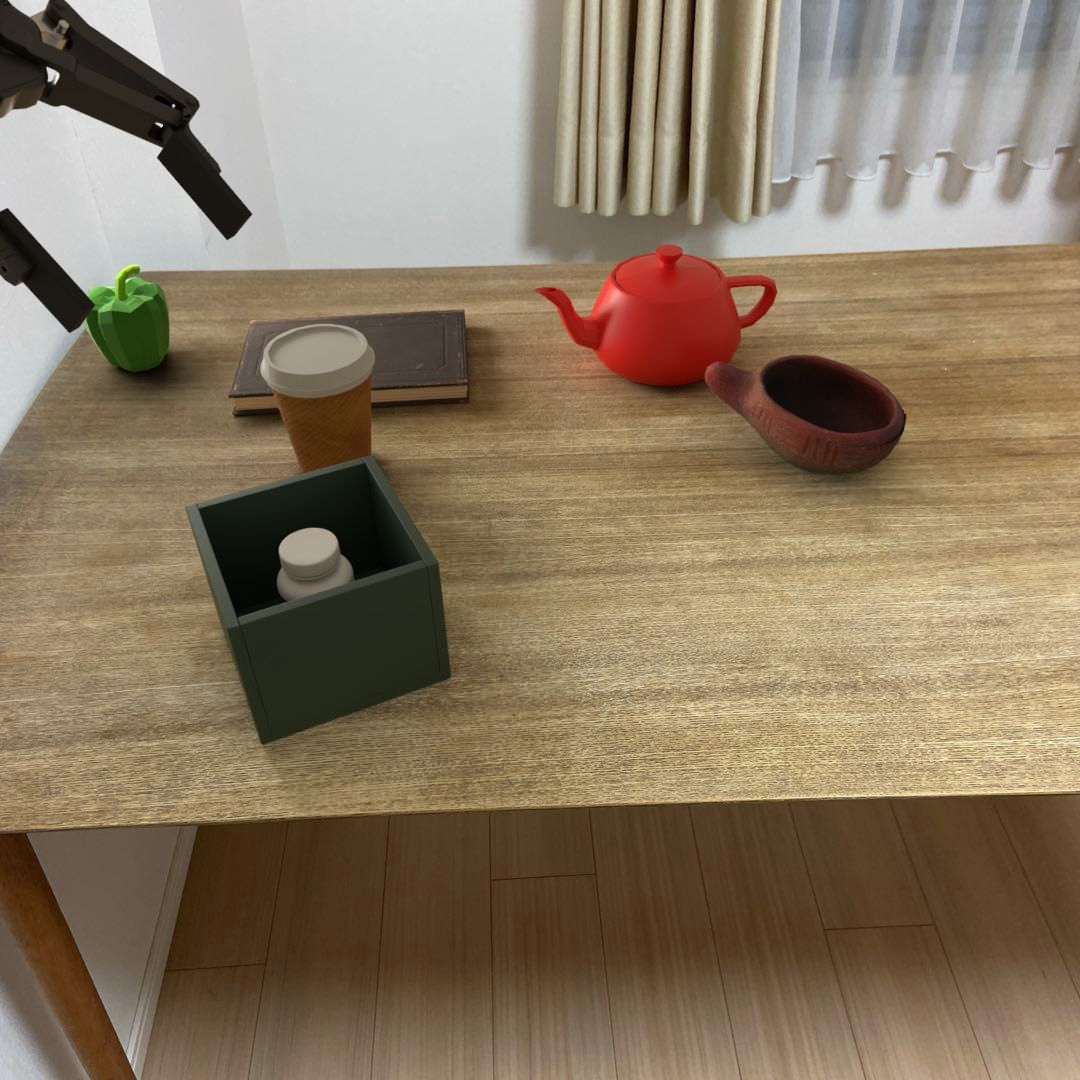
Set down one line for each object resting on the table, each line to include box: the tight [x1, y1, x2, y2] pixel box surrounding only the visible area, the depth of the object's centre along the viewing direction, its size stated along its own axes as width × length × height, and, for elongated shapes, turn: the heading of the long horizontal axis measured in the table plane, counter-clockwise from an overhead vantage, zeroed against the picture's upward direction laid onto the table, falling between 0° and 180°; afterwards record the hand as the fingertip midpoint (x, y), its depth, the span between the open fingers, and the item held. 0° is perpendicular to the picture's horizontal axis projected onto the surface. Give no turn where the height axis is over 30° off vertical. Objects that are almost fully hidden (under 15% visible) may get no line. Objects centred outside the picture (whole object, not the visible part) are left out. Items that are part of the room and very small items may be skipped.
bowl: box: [704, 354, 907, 476], centre depth 89 cm, size 16×13×8 cm
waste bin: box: [184, 454, 452, 745], centre depth 71 cm, size 14×14×11 cm
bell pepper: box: [83, 264, 171, 373], centre depth 105 cm, size 8×8×10 cm
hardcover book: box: [227, 308, 470, 416], centre depth 105 cm, size 16×23×2 cm
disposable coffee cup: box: [261, 324, 375, 474], centre depth 89 cm, size 10×10×12 cm
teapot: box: [533, 243, 778, 387], centre depth 102 cm, size 25×16×12 cm, turn 101°
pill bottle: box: [277, 528, 355, 604], centre depth 71 cm, size 5×5×9 cm
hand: (167, 270), depth 61 cm, fingers open, 13 cm apart
